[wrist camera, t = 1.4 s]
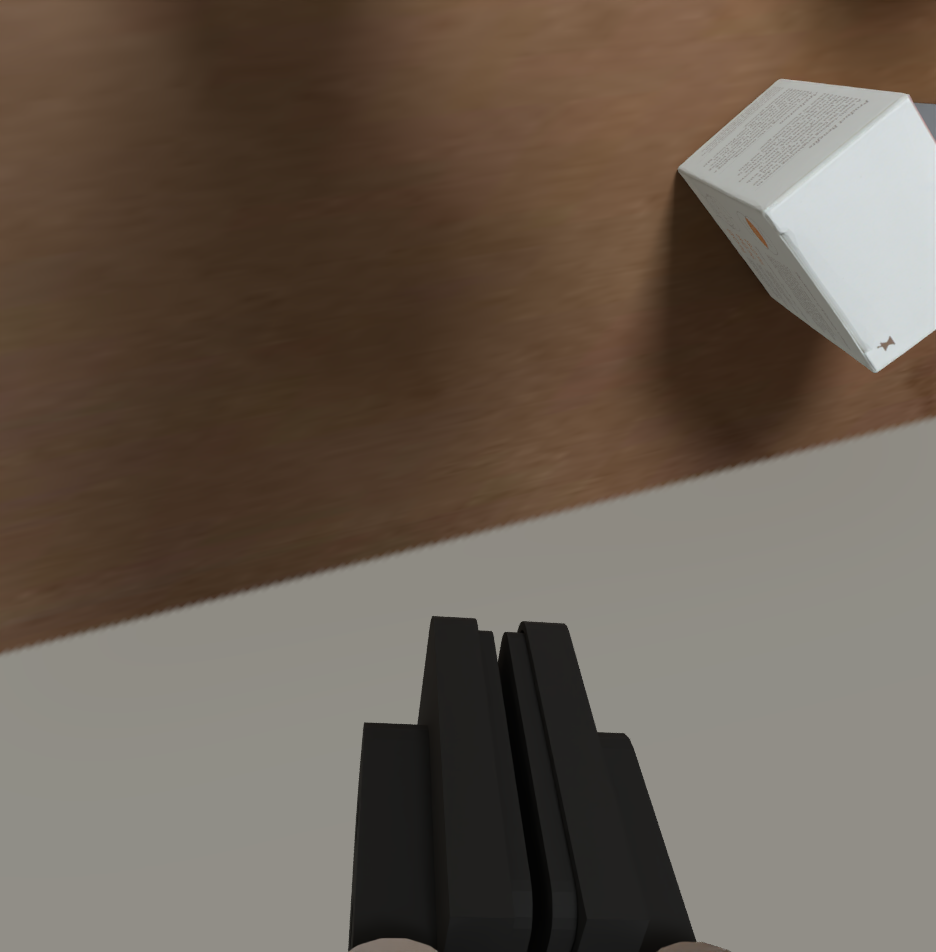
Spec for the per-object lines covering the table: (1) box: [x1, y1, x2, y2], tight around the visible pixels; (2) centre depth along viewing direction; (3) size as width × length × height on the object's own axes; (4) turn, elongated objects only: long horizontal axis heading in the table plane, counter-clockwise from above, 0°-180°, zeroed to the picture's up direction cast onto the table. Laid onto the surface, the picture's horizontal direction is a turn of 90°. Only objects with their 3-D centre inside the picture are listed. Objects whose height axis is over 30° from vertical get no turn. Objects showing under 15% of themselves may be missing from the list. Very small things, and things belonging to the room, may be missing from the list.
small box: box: [678, 79, 936, 373], centre depth 33 cm, size 8×6×10 cm
